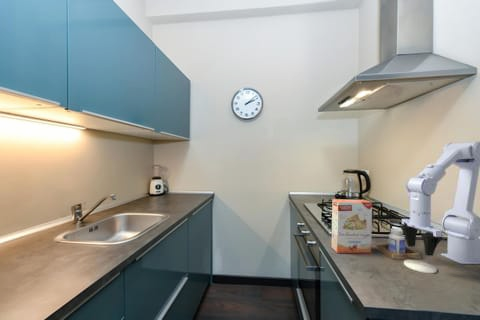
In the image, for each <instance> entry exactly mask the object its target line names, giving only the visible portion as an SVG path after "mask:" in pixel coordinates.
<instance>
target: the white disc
mask: <svg viewBox="0 0 480 320" xmlns="http://www.w3.org/2000/svg"><path fill="white" fill-rule="evenodd" d="M403 265H404V267H407V268H408V269H410V270H413V271H416V272H418V273H423V274H435V273H437V271H438V269H437V267H435V266H434V265H432V264H431V263H428V262H426V261H422V260H419V259H404V261H403Z"/></svg>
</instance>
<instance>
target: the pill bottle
mask: <svg viewBox="0 0 480 320" xmlns="http://www.w3.org/2000/svg"><path fill="white" fill-rule="evenodd" d="M403 234H404V233H403V231H402V229H401V228H398V227H397V228H396V227H395V228H394V227H392V228H390V233H388V244H389V248H388V250H389V251H390V252H392V253H394V254H406V252H405V247H406V238H405V235H403Z"/></svg>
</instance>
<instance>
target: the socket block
mask: <svg viewBox="0 0 480 320" xmlns="http://www.w3.org/2000/svg"><path fill="white" fill-rule="evenodd" d="M374 247H375V249H377V250H378V251H380V252H381V253H383V254H384V255H385V256H387V257H389V258H390V259H391V260H397V261H398V260H422V254H421V253H419V252H417V251H415V250H413V249H411V248H409V247H407V246H405V254H394V253H392V252H390V251H389V243H375V245H374Z"/></svg>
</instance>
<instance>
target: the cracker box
mask: <svg viewBox="0 0 480 320" xmlns="http://www.w3.org/2000/svg"><path fill="white" fill-rule="evenodd" d="M331 203H332V206H331V207H332V210H331V211H332V212H331V215H332V216H331V248H332V249H333V251H335V253H336V254H371V253H372V229H373V226H372V225H373V222H372V221H373V220H372V219H373V202H372V201H371V200H370V201H369V200H366V199H342V198H341V199H335V198H333V199H332V202H331Z"/></svg>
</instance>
